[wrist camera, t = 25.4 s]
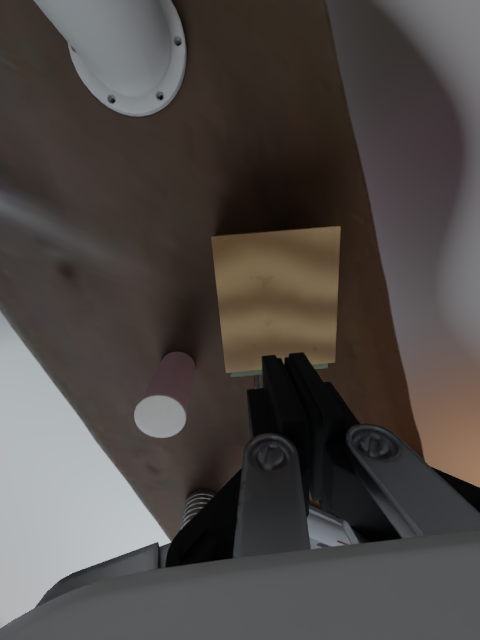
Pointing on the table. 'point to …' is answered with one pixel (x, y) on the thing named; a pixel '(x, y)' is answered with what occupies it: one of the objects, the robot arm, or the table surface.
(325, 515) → the office telephone
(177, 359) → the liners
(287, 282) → the wood-grain box
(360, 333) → the table surface
